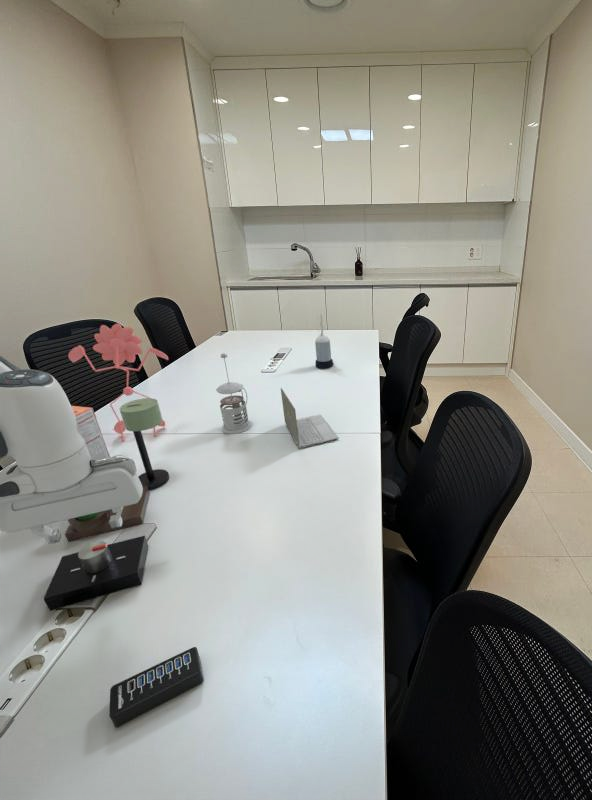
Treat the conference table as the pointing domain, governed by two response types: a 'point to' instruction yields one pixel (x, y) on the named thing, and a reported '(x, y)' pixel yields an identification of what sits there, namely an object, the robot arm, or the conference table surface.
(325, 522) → the conference table surface
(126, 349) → the figurine
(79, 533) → the brown green button box
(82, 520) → the lamp switch
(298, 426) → the laptop
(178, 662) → the multiport hub
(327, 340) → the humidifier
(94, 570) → the dimmer knob
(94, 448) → the cracker box
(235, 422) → the french press
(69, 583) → the dimmer panel
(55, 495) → the robot arm
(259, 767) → the conference table surface
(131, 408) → the desk lamp
